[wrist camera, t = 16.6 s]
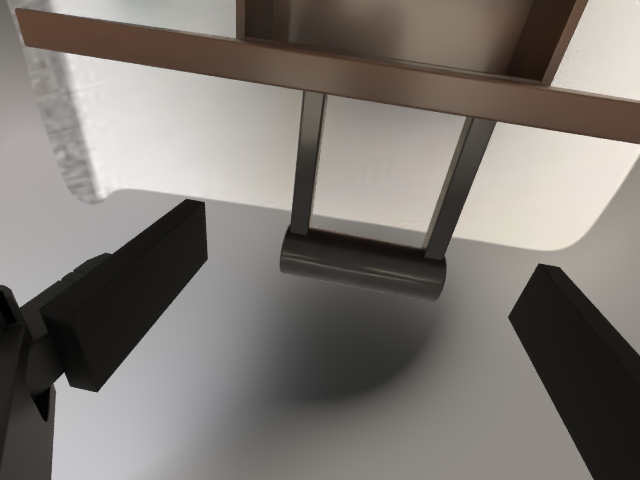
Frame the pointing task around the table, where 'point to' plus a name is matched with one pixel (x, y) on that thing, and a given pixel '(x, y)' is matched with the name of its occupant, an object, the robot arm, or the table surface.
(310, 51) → the lid
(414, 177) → the table surface
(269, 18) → the chest
